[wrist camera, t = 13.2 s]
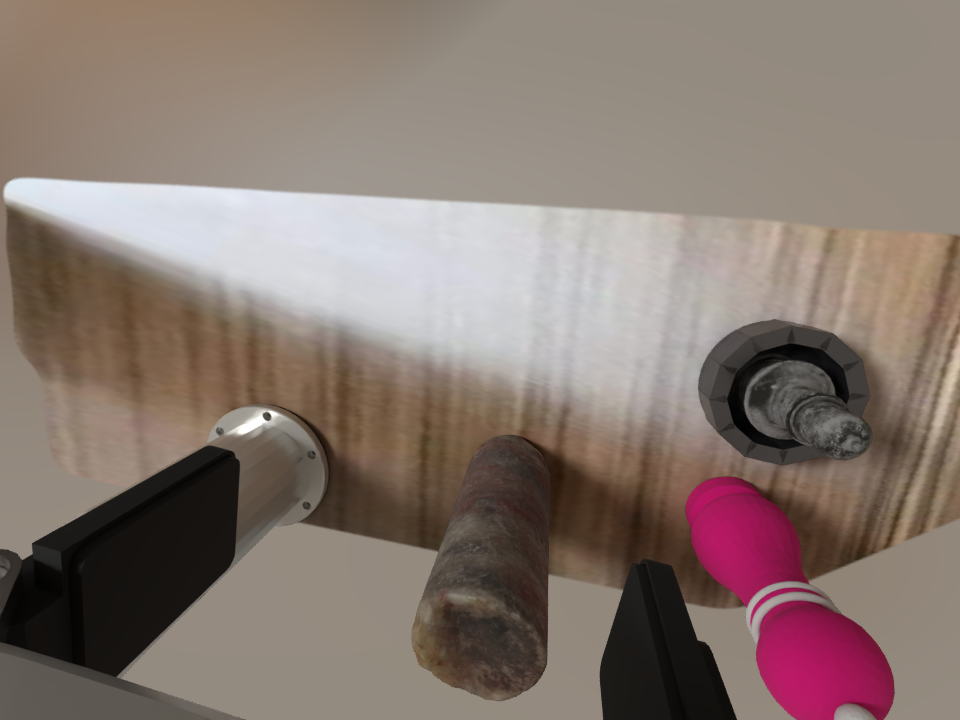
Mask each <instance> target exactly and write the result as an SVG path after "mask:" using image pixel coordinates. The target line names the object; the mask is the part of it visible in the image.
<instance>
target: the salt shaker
mask: <svg viewBox="0 0 960 720" xmlns="http://www.w3.org/2000/svg"><path fill="white" fill-rule="evenodd" d="M732 393H733V398H734V400H735V402H736V404H737V405H738V406H739V407H740V409H741V410H742V411H743V412H745V413H746V415H747V417H748V419H749V421H750V423H751V424H752V425H753V426H754V427H755V428H756V429H757V430H758V431H760V432H761V433H763V434H765V435H767V436H769V437H773V438H776V439H787V440H790V439H795V440H796V441H798V442H799V443H801V444H804V445H808V446H813V447H815V448H816V449H817V450H818V451H820V452H821V453H822V454H824V455H826V456H827V457H830V458H833V459H837V460H848V459H853V458H855V457H858V456H860V455H861V454H863V453H864V452H865V451H866V450H867V449H868V447H869V446H870V444H871V441H872V431H871V428H870V426H869V425H868V424H867V423H866V422H865V421H864V420H863V419H862V418H860V417H859V416H857V415H855V414H853V413H852V412H850V411H849V409H848V407H847V405H846V404H845V403H844V402H843V401H842V400H841V399H840V398H838V397H836V394H835V387H834V385H833V383H832V381H831V379H830V377H829V376H828V375H827V374H826V373H825V372H824V371H823V370H822V369H820V368H819V367H817V366H815V365H813V364H811V363H808V362H804V361H795V360H792V359H791V358H789V357H787V356H783V355H780V354H765V355H760V356H757V357H755V358H753V359H750V360H749V361H748V362H747V363H746V364H745V365H744V366H742V367H741V368H740V369H739V370H738V372H737V373H736V375H735V378H734V380H733V385H732Z"/></svg>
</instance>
